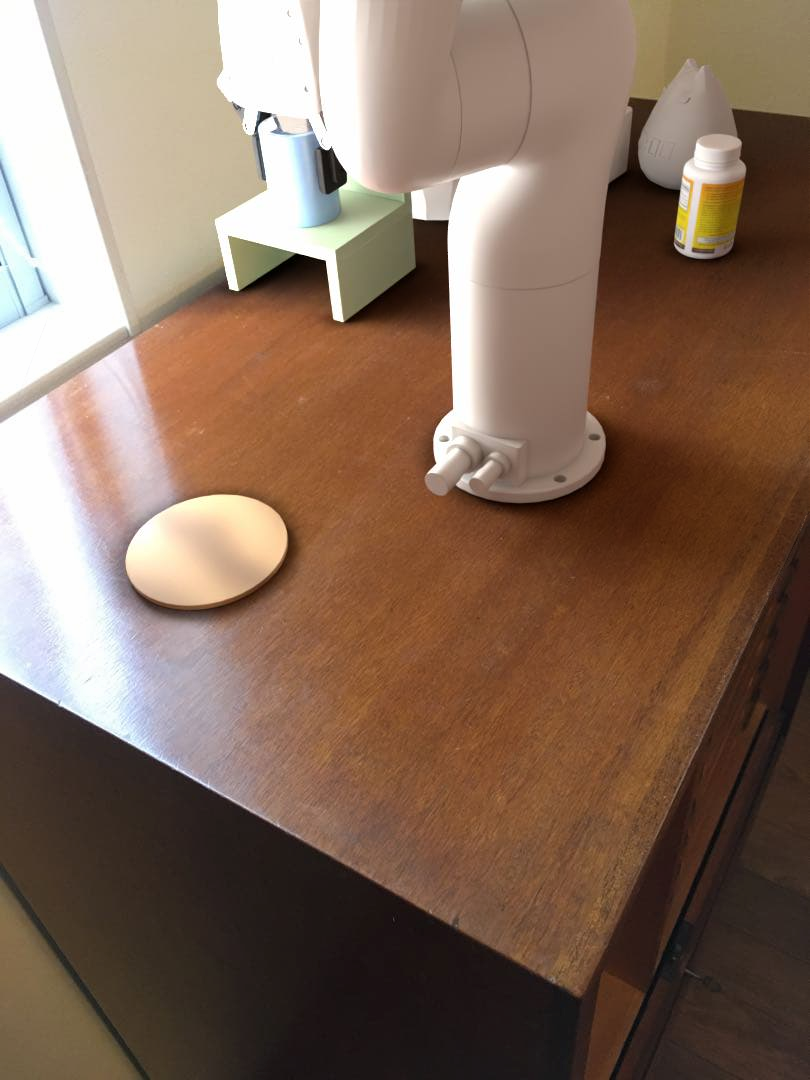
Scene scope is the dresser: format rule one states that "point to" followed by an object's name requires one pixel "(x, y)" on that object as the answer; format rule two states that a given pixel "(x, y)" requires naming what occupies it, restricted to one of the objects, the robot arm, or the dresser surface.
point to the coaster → (206, 552)
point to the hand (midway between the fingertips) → (302, 180)
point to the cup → (295, 173)
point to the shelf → (326, 244)
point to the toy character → (683, 123)
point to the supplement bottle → (710, 198)
